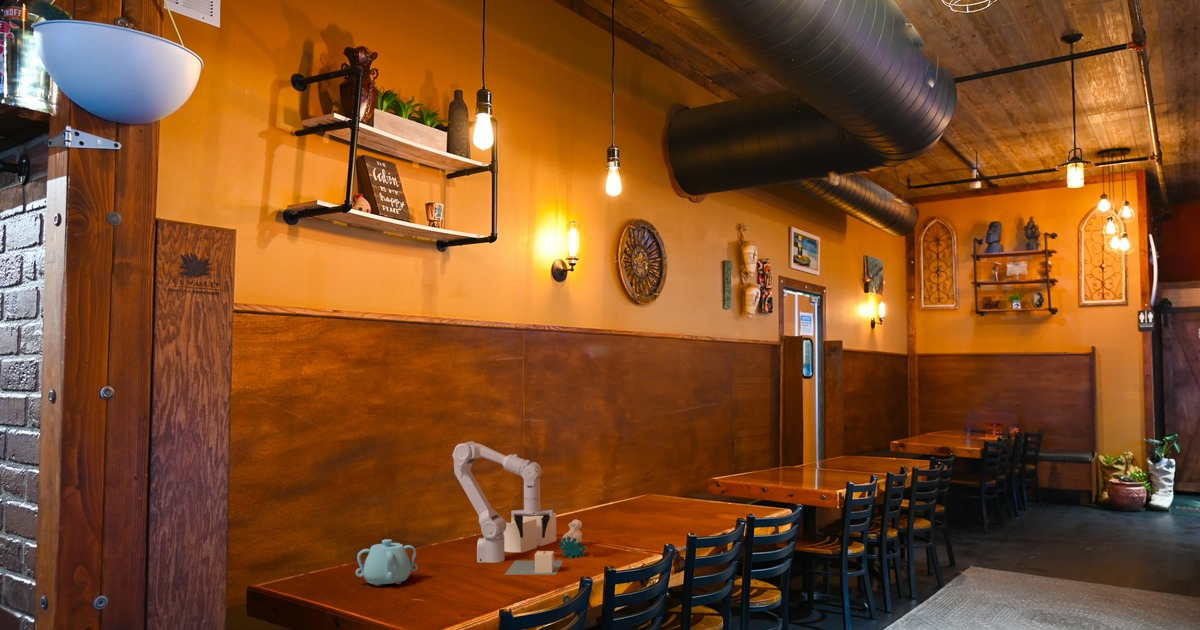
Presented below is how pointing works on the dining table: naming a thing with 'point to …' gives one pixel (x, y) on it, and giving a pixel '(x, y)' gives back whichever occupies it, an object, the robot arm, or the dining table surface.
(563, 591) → the dining table surface
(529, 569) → the base plate
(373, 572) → the decorative pot
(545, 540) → the storage container
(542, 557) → the cabinet with handle
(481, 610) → the dining table surface
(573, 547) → the gear
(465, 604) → the dining table surface
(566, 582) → the dining table surface
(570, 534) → the bust
